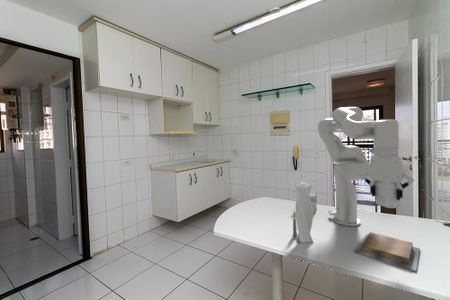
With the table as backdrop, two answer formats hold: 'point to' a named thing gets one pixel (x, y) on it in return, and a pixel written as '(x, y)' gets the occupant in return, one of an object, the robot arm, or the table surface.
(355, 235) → the table surface
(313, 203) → the light bulb box
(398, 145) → the robot arm
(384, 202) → the skincare box
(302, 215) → the skyscraper
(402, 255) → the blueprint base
